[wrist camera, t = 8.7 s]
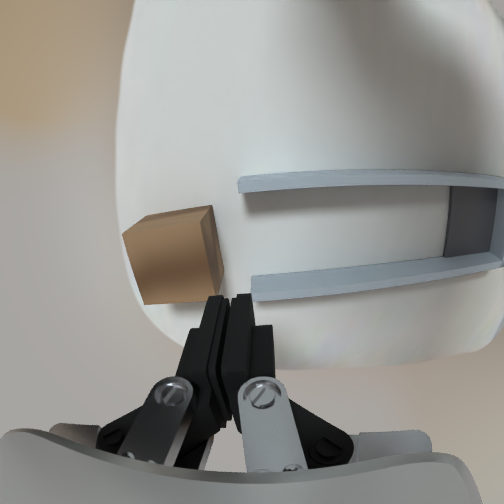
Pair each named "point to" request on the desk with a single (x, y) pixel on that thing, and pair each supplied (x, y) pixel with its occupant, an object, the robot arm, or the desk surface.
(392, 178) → the channel
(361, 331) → the desk surface
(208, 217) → the walnut block
